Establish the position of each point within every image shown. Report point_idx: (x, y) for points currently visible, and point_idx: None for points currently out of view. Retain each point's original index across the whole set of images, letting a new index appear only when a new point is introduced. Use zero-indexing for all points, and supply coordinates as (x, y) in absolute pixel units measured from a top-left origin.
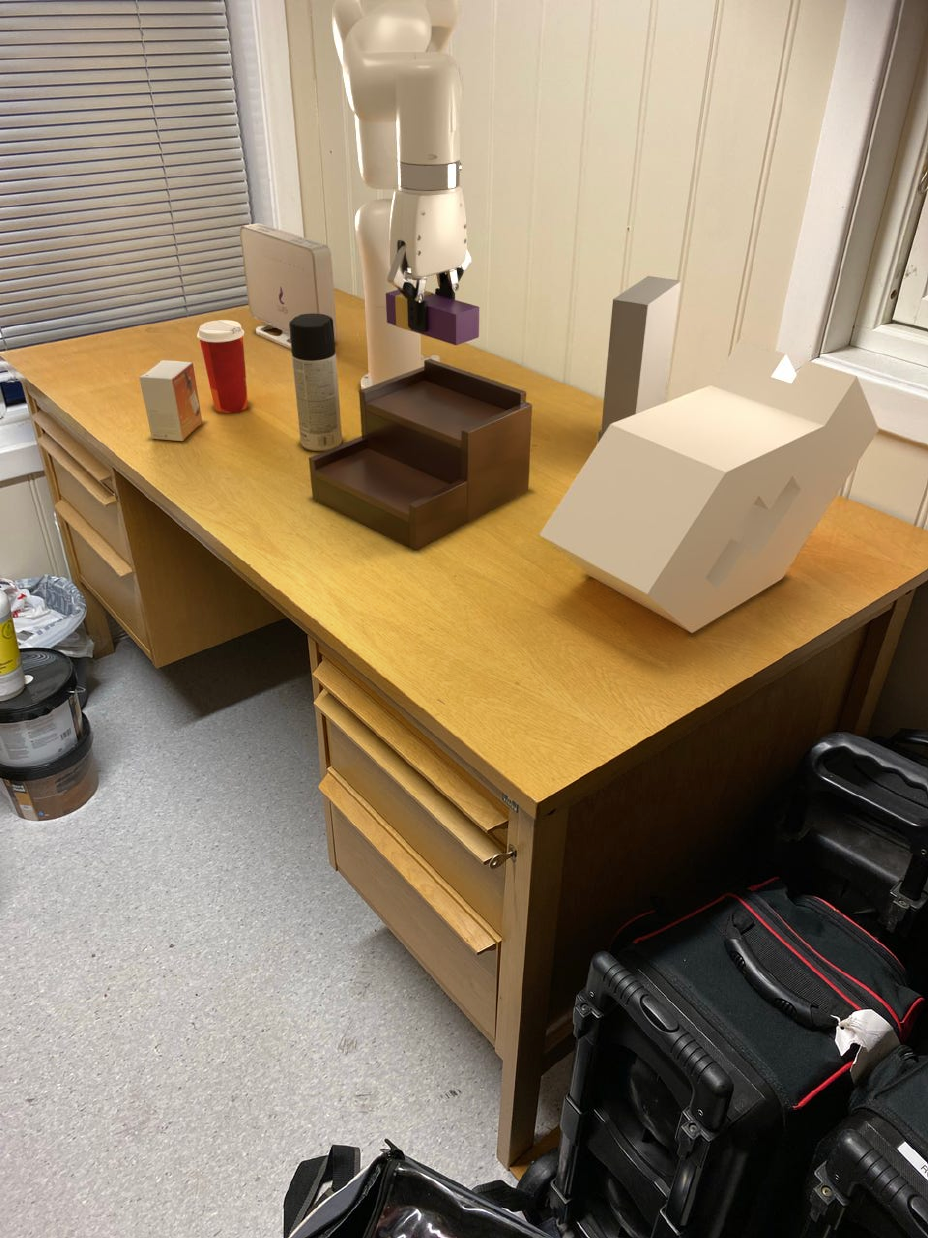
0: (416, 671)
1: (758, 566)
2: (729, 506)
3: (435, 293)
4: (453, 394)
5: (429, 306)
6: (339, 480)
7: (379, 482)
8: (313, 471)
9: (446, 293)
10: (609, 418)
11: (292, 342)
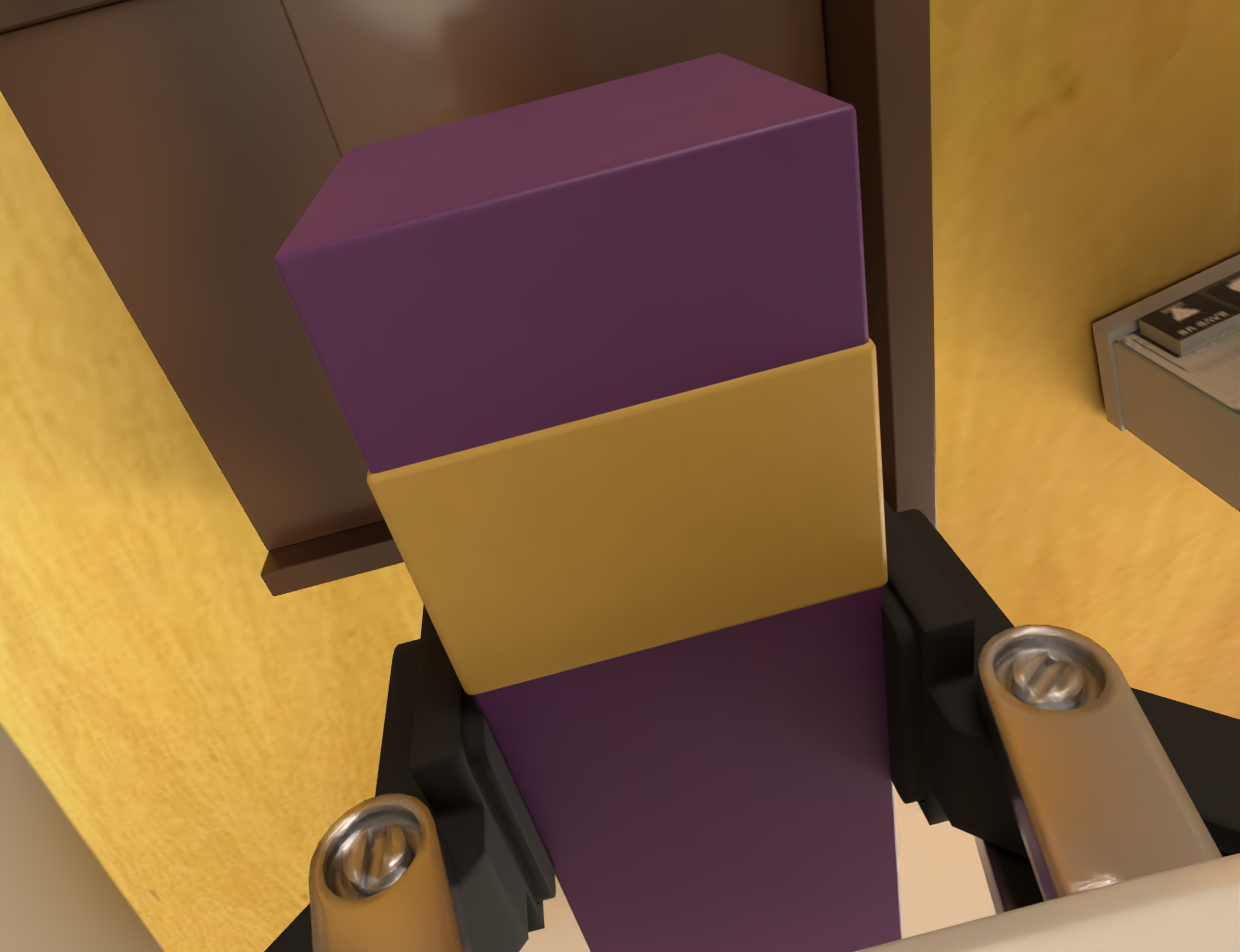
0: (136, 835)
1: None
2: None
3: (883, 619)
4: None
5: (559, 883)
6: (78, 211)
7: (247, 315)
8: None
9: (904, 774)
10: (1210, 423)
11: None
